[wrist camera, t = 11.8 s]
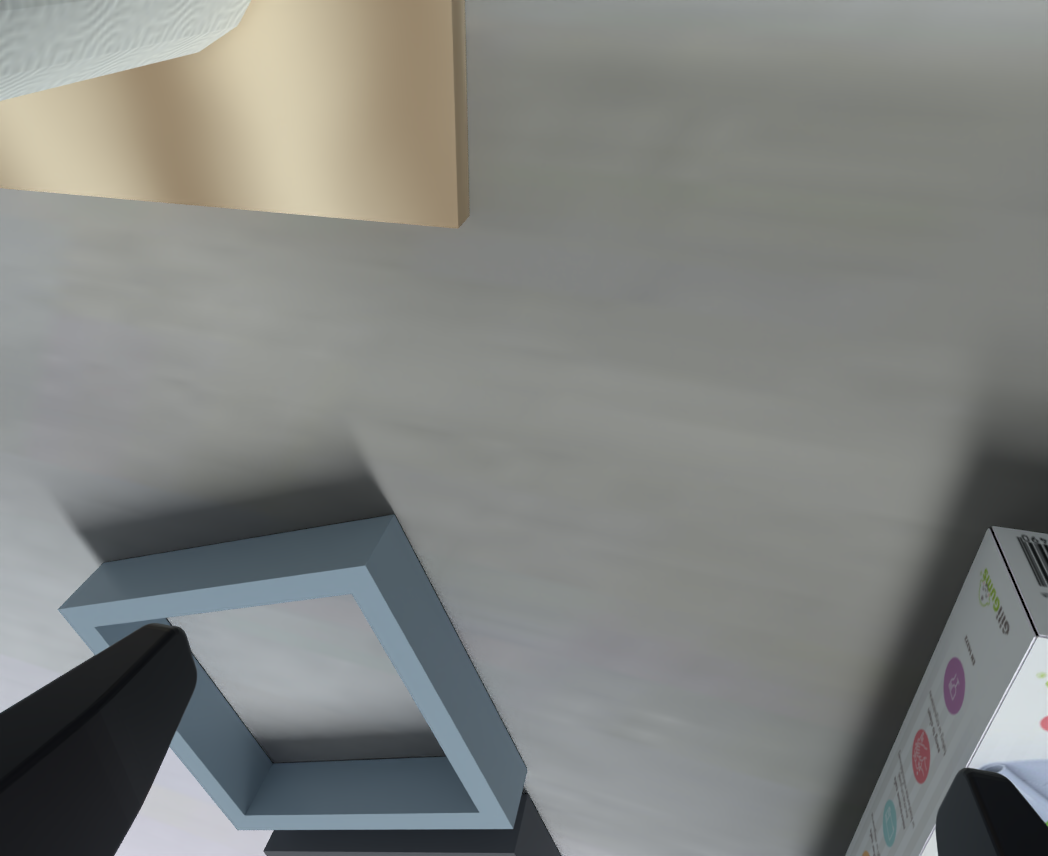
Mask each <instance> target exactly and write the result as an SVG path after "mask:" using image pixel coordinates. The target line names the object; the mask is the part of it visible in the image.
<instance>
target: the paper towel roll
mask: <svg viewBox="0 0 1048 856" xmlns="http://www.w3.org/2000/svg"><path fill="white" fill-rule="evenodd" d="M250 2H251V0H0V101H2V100H6V99H10V98H14V97H18V96H22V95H26V94H31V93H35V92H39V91H43V90H47V89H51V88H55V87H59V86H63V85H67V84H71V83H75V82H79V81H84V80H88V79H92V78H96V77H100V76H104V75H108V74H112V73H116V72H120V71H124V70H128V69H132V68H136V67H141V66H145V65H149V64H153V63H157V62H161V61H165V60H169V59H173V58H177V57H181V56H185V55H189V54H193V53H198V52H200V51H201V50H203V49H204V48H206V47H207V46H209V45H210V44H212V43H213V42H214V41H216V40H217V39H219V38H220V37H222V36H223V35H225V34H226V33H228V32H229V31H231V30H232V29H233V28H235V27H236V26H237V25H238V24H239V23H240V21H241V19H242V17H243V15H244V13H245V11H246V10H247V8H248V6H249V4H250Z"/></svg>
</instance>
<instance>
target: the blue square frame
mask: <svg viewBox="0 0 1048 856" xmlns="http://www.w3.org/2000/svg"><path fill="white" fill-rule="evenodd" d="M346 594H352V595H353V597H354V599H355V600H356V602H357V604H358V605H359V607H360V609H361V611H362V612H363V614H364V616H365V617H366V619H367V621H368V623H369V624H370V626H371V628H372V629H373V631H374V633H375V635H376V636H377V638H378V640H379V641H380V643H381V645H382V646H383V648H384V650H385V652H386V653H387V655H388V657H389V658H390V660H391V662H392V664H393V665H394V667H395V669H396V670H397V672H398V674H399V676H400V677H401V679H402V681H403V682H404V684H405V686H406V688H407V689H408V691H409V693H410V694H411V696H412V698H413V700H414V701H415V703H416V705H417V706H418V708H419V710H420V712H421V713H422V715H423V717H424V718H425V720H426V722H427V724H428V725H429V727H430V729H431V730H432V732H433V734H434V736H435V737H436V739H437V741H438V742H439V744H440V746H441V748H442V749H443V751H444V753H445V754H446V756H447V757H425V758H400V759H375V760H351V761H326V762H301V763H277V764H273V763H272V762H271V761H270V759H269V758H268V756H267V755H266V754H265V752H264V751H263V750H262V748H261V747H260V746H259V744H258V743H257V742H256V740H255V739H254V738H253V736H252V735H251V733H250V732H249V731H248V729H247V728H246V727H245V725H244V724H243V723H242V721H241V720H240V719H239V717H238V716H237V714H236V713H235V712H234V710H233V709H232V708H231V706H230V705H229V704H228V702H227V701H226V700H225V698H224V697H223V695H222V694H221V693H220V691H219V690H218V689H217V687H216V686H215V685H214V683H213V682H212V681H211V679H210V678H209V677H208V675H207V674H206V672H205V671H204V670H203V668H202V667H201V666H200V664H199V663H198V662H197V660H196V659H195V658H194V656H193V658H194V661H195V665H196V668H197V683H196V687H195V690H194V692H193V695H192V697H191V699H190V701H189V704H188V706H187V708H186V710H185V713H184V715H183V717H182V719H181V721H180V724H179V726H178V728H177V730H176V733H175V735H174V737H173V739H172V741H171V744H170V746H169V747H170V748H171V749H172V750H173V751H174V753H175V754H176V755H177V756H178V758H179V759H180V760H181V761H182V763H183V764H184V765H185V766H186V767H187V769H188V770H189V771H190V772H191V774H192V775H193V776H194V777H195V778H196V780H197V781H198V782H199V783H200V785H201V786H202V787H203V788H204V790H205V791H206V792H207V793H208V794H209V796H210V797H211V798H212V799H213V801H214V802H215V803H216V804H217V805H218V807H219V808H220V809H221V810H222V812H223V813H224V814H225V815H226V817H227V818H228V819H229V820H230V821H231V823H232V824H233V825H234V826H235V828H236V829H237V830H391V829H513V828H514V824H515V820H516V816H517V811H518V807H519V803H520V799H521V795H522V791H523V786H524V782H525V778H526V774H527V768H526V766H525V764H524V763H523V761H522V759H521V757H520V755H519V753H518V751H517V749H516V747H515V745H514V743H513V741H512V739H511V738H510V736H509V734H508V732H507V730H506V728H505V726H504V724H503V722H502V720H501V718H500V716H499V714H498V713H497V711H496V709H495V707H494V705H493V703H492V701H491V699H490V697H489V695H488V693H487V691H486V689H485V688H484V686H483V684H482V682H481V680H480V678H479V676H478V674H477V672H476V670H475V668H474V666H473V665H472V663H471V661H470V659H469V657H468V655H467V653H466V651H465V649H464V647H463V645H462V643H461V641H460V640H459V638H458V636H457V634H456V632H455V630H454V628H453V626H452V624H451V622H450V620H449V618H448V616H447V615H446V613H445V611H444V609H443V607H442V605H441V603H440V601H439V599H438V597H437V595H436V593H435V591H434V590H433V588H432V586H431V584H430V582H429V580H428V578H427V576H426V574H425V572H424V570H423V568H422V567H421V565H420V563H419V561H418V559H417V557H416V555H415V553H414V551H413V549H412V547H411V545H410V543H409V542H408V540H407V538H406V536H405V534H404V532H403V530H402V528H401V526H400V524H399V522H398V520H397V518H396V517H395V515H388V516H382V517H376V518H370V519H364V520H358V521H352V522H346V523H340V524H334V525H328V526H322V527H316V528H310V529H304V530H298V531H292V532H286V533H280V534H274V535H268V536H262V537H256V538H250V539H244V540H238V541H232V542H226V543H220V544H214V545H208V546H202V547H196V548H190V549H184V550H178V551H172V552H166V553H160V554H154V555H148V556H142V557H136V558H130V559H124V560H118V561H112V562H106V563H103V564H102V565H101V566H100V567H99V568H98V569H97V570H96V571H95V572H94V573H93V574H92V575H91V576H90V577H89V578H88V579H87V580H86V581H85V582H84V583H83V584H82V585H81V586H80V587H79V588H78V589H77V590H76V591H75V592H74V593H73V594H72V595H71V596H70V597H69V598H68V599H67V600H66V601H65V603H64V604H63V605H62V606H61V607H60V608H59V609H58V610H59V612H60V613H61V614H62V615H63V616H64V618H65V619H66V620H67V621H68V623H69V624H70V625H71V626H72V628H73V629H74V630H75V631H76V632H77V634H78V635H79V636H80V637H81V639H82V640H83V641H84V642H85V643H86V645H87V646H88V647H89V648H90V650H91V651H92V652H93V653H94V655H96V654H98V653H100V652H101V651H103V650H105V649H106V648H108V647H109V646H111V645H113V644H114V643H116V642H118V641H119V640H121V639H123V638H124V637H126V636H127V635H129V634H131V633H132V632H134V631H136V630H137V629H139V628H141V627H142V626H144V625H147V624H150V623H160V624H166V625H170V624H169V622H168V621H167V620H166V618H168V617H175V616H183V615H191V614H199V613H206V612H214V611H222V610H230V609H237V608H245V607H253V606H261V605H269V604H276V603H284V602H292V601H300V600H307V599H315V598H323V597H331V596H338V595H346Z"/></svg>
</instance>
